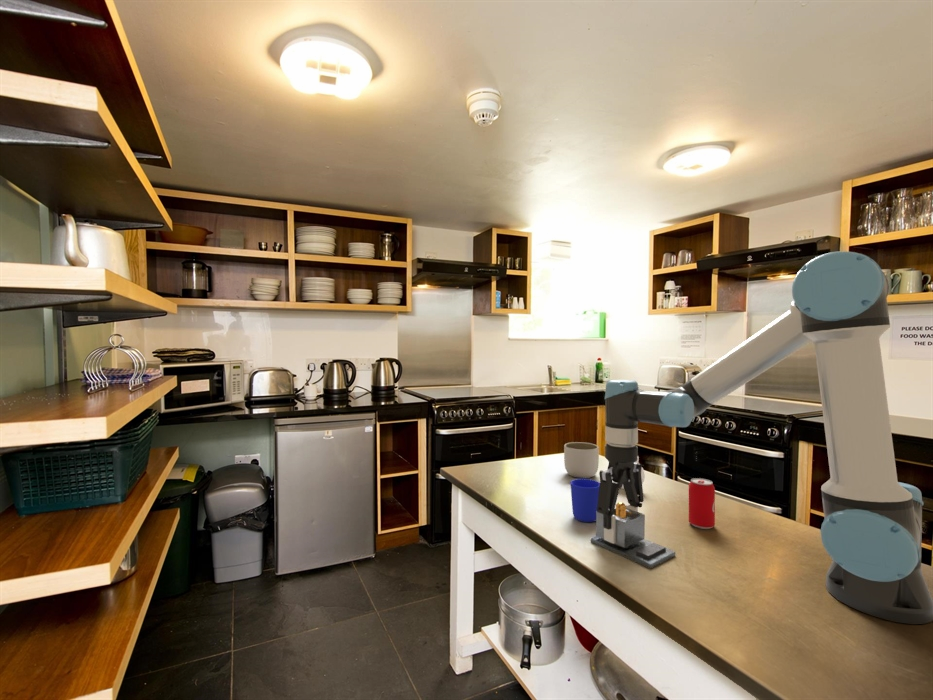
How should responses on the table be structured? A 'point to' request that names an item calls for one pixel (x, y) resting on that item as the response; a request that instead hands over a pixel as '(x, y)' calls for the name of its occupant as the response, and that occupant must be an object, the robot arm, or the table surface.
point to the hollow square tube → (624, 527)
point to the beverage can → (702, 503)
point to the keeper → (637, 547)
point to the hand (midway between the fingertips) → (620, 536)
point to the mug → (584, 499)
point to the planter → (581, 459)
